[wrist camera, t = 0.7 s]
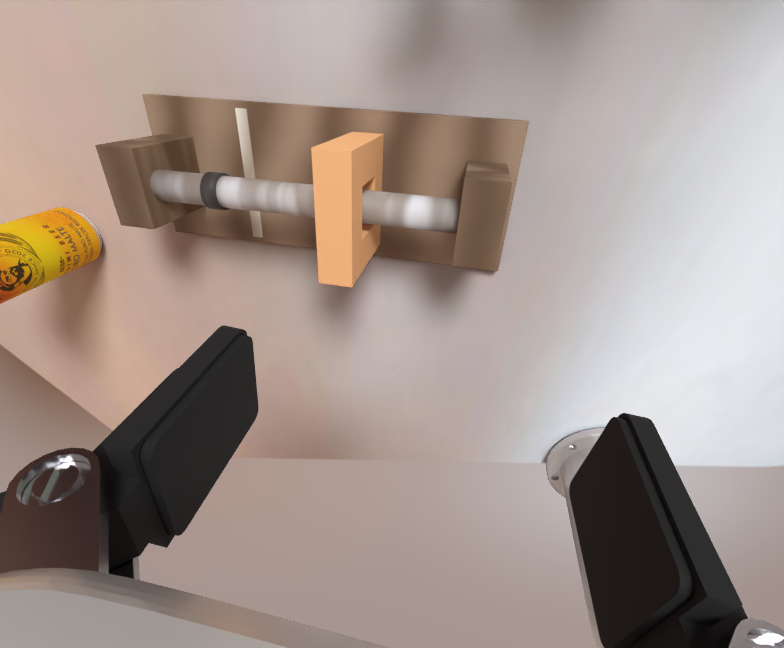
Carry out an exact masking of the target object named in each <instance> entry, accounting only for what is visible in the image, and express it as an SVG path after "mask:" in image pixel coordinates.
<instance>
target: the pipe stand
mask: <svg viewBox="0 0 784 648" xmlns="http://www.w3.org/2000/svg"><path fill="white" fill-rule="evenodd" d="M143 99H144V103H145V107H146V111H147V115H148V119H149V123H150V128H151V132H152V136H148V137H142V138H136V139H130V140H124V141H118V142H112V143H106V144H100V145H95V146H96V149H97V152H98V155H99V158H100V161H101V164H102V167H103V170H104V173H105V177H106V180H107V183H108V186H109V189H110V192H111V195H112V198H113V201H114V205H115V208H116V211H117V214H118V217H119V220H120V223H121V225H125V226H133V227H141V228H149V229H155V228H158V227H160V226H162V225H164V224H167V223H169V222H171V221H173V220H174V224H175V228H176V231H178V232H186V233H194V234H202V235H210V236H218V237H226V238H235V239H243V240H251V241H259V242H267V243H275V244H283V245H291V246H299V247H308V248H316V249H317V243H316V225H315V207H314V189H313V171H312V153H311V148H312V147H314V146H317V145H319V144H322V143H325V142H327V141H330V140H332V139H335V138H338V137H340V136H343V135H345V134H348V133H351V132H364V133H377V134H384V142H383V172H382V191H372V190H362V223H366V224H375V225H381V230H380V245H379V246H378V248H377V249H376V251H375V253H374V254H373V256H381V257H389V258H397V259H405V260H413V261H421V262H429V263H438V264H446V265H452V266H457V267H465V268H473V269H481V270H489V271H498V268H499V263H500V258H501V253H502V249H503V244H504V239H505V234H506V229H507V225H508V220H509V215H510V210H511V205H512V200H513V196H514V191H515V186H516V181H517V176H518V172H519V167H520V162H521V157H522V152H523V148H524V143H525V138H526V133H527V128H528V124H529V121H523V120H509V119H494V118H480V117H466V116H452V115H437V114H423V113H409V112H395V111H380V110H366V109H352V108H338V107H323V106H309V105H295V104H281V103H266V102H252V101H238V100H224V99H209V98H195V97H181V96H167V95H153V94H143Z"/></svg>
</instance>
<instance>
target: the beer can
mask: <svg viewBox="0 0 784 648" xmlns="http://www.w3.org/2000/svg"><path fill="white" fill-rule="evenodd" d="M101 247H102V239H101V236H100V233H99V231H98V230H97V228H96V227H95V225H94V224H93V223H92V222H91V221H90V220H89V219H88V218H87V217H86V216H84V215H83V214H81V213H79V212H76V211H73V210H70V209H67V208H62V207H59V208H54V209H51V210H48V211H44V212H41V213H38V214H34V215H31V216H27V217H24V218H21V219H17V220H14V221H11V222H7V223H4V224H0V304H1V303H3V302H5V301H7V300H9V299H11V298H14V297H16V296H18V295H20V294H22V293H25V292H27V291H29V290H31V289H33V288H35V287H38V286H40V285H42V284H44V283H46V282H48V281H51V280H53V279H55V278H57V277H59V276H61V275H64V274H66V273H68V272H70V271H72V270H75V269H77V268H79V267H81V266H83V265H85V264H88V263H90V262H92V261H94V260H96V259H97V258H98V256H99V254H100V250H101Z"/></svg>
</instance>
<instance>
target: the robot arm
mask: <svg viewBox="0 0 784 648" xmlns="http://www.w3.org/2000/svg"><path fill="white" fill-rule="evenodd" d="M257 413H258V398H257V386H256V375H255V364H254V352H253V341H252V338H251V337H249V336H247V333H246V331H245V330H243V329H238V328H233V327H229V326H221V327H220V328H218V329H217V330H216V331H215V332H214V333H213V334H212V335H211V336H210V337H209V338H208V339H207V340H206V341H205V342H204V343H203V344H202V345H201V346H200V347H199V348H198V349H197V350H196V351H195V352H194V353H193V354H192V355H191V356H190V357H189V358H188V359H187V360H186V362H185V363H184V364H183V365H182V366H181V367H180V368H178V369H176V370H175V371H173V372H172V373H171V374H170V375H169V376H168V377H167V378H166V379H165V380H164V381H163V382H162V383H161V384H160V385H159V386H158V387H157V388H156V389H155V390H154V391H153V392H152V393H151V394H150V395H149V396H148V397H147V398H146V399H145V400H144V401H143V402H142V403H141V404H140V405H139V406H138V407H137V408H136V409H135V410H134V411H133V412H132V413H131V414H130V415H129V416H128V417H127V418H126V419H125V420H124V421H123V422H122V423H121V424H120V425H119V426H118V427H117V428H116V429H115V430H114V431H113V432H112V433H111V434H110V435H109V436H108V437H107V438H106V439H105V440H104V441H103V442H102V443H101V444H100V445H99V446H98V447H97V448H96V449H95V450H94V451H93V452H92V451H90V450H87V449H84V448H67V449H61V450H57V451H54V452H51V453H48V454H46V455H43V456H42V457H40V458H38V459H36V460H34V461H32V462H31V463H29V464H28V465H27V466H25V467H24V468H23V469H22V470H20V471H19V472H18V473H17V474H16V476H15V477H14V478H13V480H11V482H10V483H9V485H8V488H7V490H6V491H5V492H2V493H0V648H389V647H385V646H382V645H378V644H375V643H371V642H367V641H364V640H360V639H357V638H353V637H349V636H345V635H342V634H339V633H335V632H331V631H327V630H324V629H321V628H317V627H313V626H310V625H306V624H302V623H299V622H295V621H291V620H288V619H284V618H280V617H277V616H273V615H269V614H266V613H262V612H258V611H254V610H251V609H247V608H243V607H240V606H236V605H232V604H229V603H225V602H222V601H218V600H214V599H211V598H207V597H203V596H199V595H195V594H192V593H188V592H184V591H180V590H176V589H172V588H168V587H164V586H159V585H156V584H152V583H148V582H144V581H140V579H139V562H138V561H139V560H138V556H139V555H140V554H141V553H142V552H143V550H144V549H145V547H146V546H147V544H148V543H151V544H155V545H159V546H163V547H168V545H169V544H170V542H171V540H172V539H173V537H174V536H175V535H181V534H182V533H183V532H184V531H185V529H186V528H187V526H188V525H189V523H190V522H191V520H192V519H193V517H194V515H195V514H196V512H197V511H198V509H199V508H200V506H201V504H202V503H203V501H204V500H205V498H206V497H207V495H208V493H209V492H210V490H211V489H212V487H213V486H214V484H215V482H216V481H217V479H218V478H219V476H220V474H221V473H222V471H223V470H224V468H225V467H226V465H227V463H228V462H229V460H230V459H231V457H232V456H233V454H234V452H235V451H236V449H237V448H238V446H239V444H240V443H241V441H242V440H243V438H244V437H245V435H246V433H247V432H248V430H249V429H250V427H251V426H252V424H253V422H254V421H255V419H256V416H257ZM546 470H547V476H548V480H549V481H550V483H551V485H552V486H553V488H554V489H555V490H556V491H557V492H558V493H560V494H561V495H562V496H564V497H565V498H566V501H567V506H568V511H569V517H570V522H571V527H572V532H573V538H574V543H575V548H576V553H577V558H578V563H579V568H580V574H581V578H582V584H583V588H584V594H585V599H586V604H587V609H588V613H589V619H590V624H591V629H592V633H593V636H594V639H595V642H596V645H597V647H598V648H784V630H782V629H781V628H779V627H778V626H775V625H773V624H771V623H769V622H766V621H764V620H760V619H754V618H749V619H748V618H747V616H746V614H745V611H744V609H743V607H742V603H741V601H740V599H739V597H738V595H737V593H736V590H735V588H734V586H733V584H732V582H731V580H730V578H729V576H728V574H727V572H726V570H725V568H724V566H723V564H722V562H721V560H720V558H719V556H718V554H717V552H716V550H715V548H714V546H713V544H712V542H711V540H710V537H709V535H708V533H707V532H706V529H705V527H704V525H703V523H702V521H701V519H700V517H699V515H698V513H697V511H696V509H695V507H694V505H693V503H692V501H691V499H690V497H689V495H688V493H687V491H686V489H685V487H684V485H683V483H682V481H681V478H680V476H679V474H678V472H677V470H676V468H675V466H674V464H673V462H672V460H671V458H670V456H669V454H668V452H667V450H666V448H665V446H664V444H663V442H662V440H661V438H660V436H659V434H658V432H657V430H656V428H655V426H654V424H653V422H652V421H651V420H650V419H648V418H645V417H640V416H635V415H631V414H626V413H622V414H621V415H619V416H618V418H617V417H613V418H611V420H610V421H609V423H608V424H607V426H606V427H605V428H594V429H589V430H584V431H581V432H578V433H575V434H572V435H570V436H568V437H566V438H564V439H563V440H562V441H560V442H559V443H558V444H556V445H555V447H554V448H553V449H552V450H551V451H550V453H549V455H548V457H547V462H546Z"/></svg>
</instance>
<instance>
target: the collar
mask: <svg viewBox="0 0 784 648" xmlns="http://www.w3.org/2000/svg"><path fill="white" fill-rule="evenodd" d="M383 142H384V134H377V133H364V132H351V133H348V134H345V135H343V136H340V137H338V138H335V139H332V140H330V141H327V142H325V143H322V144H319V145H317V146H314V147H312V148H311V153H312V171H313V189H314V207H315V225H316V243H317V261H318V279H319V283H323V284H331V285H338V286H346V287H353V285H354V284H355V282H356V281H357V279H358V278H359V276H360V274H361V273H362V271H363V270H364V268H365V267H366V265H367V263H368V262H369V260H370V259H371V257H372V256H373V254H374V253H375V251H376V249H377V248H378V246H379V245H380V230H381V225H375V224H366V223H362V190H372V191H382V172H383Z"/></svg>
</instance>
